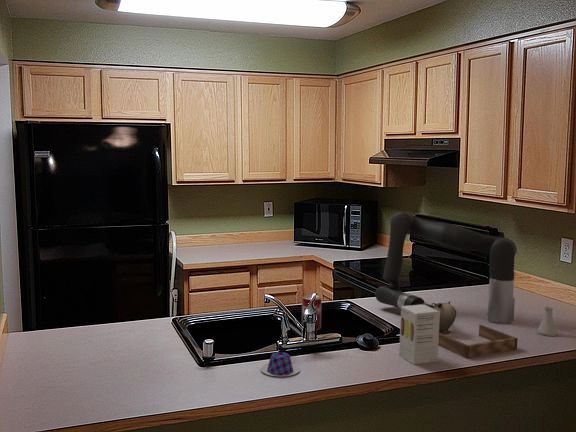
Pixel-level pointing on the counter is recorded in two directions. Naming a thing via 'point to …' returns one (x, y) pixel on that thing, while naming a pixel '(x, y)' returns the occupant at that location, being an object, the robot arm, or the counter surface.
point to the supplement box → (419, 334)
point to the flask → (547, 324)
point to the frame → (496, 345)
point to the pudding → (280, 365)
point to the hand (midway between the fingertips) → (437, 314)
